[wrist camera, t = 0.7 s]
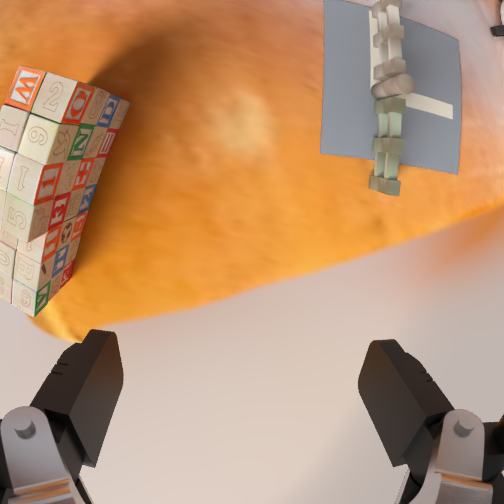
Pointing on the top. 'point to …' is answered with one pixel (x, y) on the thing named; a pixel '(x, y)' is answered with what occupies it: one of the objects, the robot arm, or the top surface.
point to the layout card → (362, 102)
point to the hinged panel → (388, 145)
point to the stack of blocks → (49, 178)
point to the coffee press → (499, 29)
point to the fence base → (389, 52)
